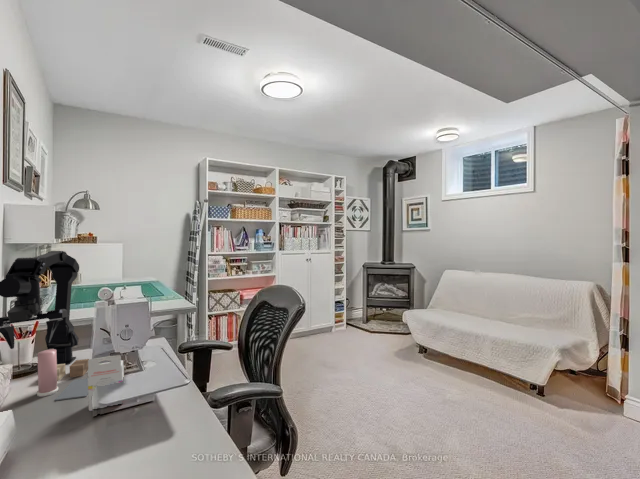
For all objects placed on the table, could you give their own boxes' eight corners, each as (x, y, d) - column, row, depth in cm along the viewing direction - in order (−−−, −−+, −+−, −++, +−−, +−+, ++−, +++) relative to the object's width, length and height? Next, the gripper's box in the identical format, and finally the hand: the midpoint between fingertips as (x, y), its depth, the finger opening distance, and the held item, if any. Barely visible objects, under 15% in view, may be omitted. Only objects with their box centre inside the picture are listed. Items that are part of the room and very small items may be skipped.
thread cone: (42, 390, 106) (41, 350, 106) (61, 387, 108) (60, 348, 108) (33, 397, 101) (32, 355, 101) (54, 395, 103) (53, 353, 103)
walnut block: (76, 370, 121) (76, 360, 121) (89, 369, 123) (89, 358, 123) (69, 377, 116) (69, 366, 116) (83, 376, 117) (82, 365, 117)
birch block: (48, 376, 117) (48, 365, 117) (65, 374, 118) (65, 363, 118) (41, 382, 112) (41, 371, 112) (59, 380, 114) (59, 369, 113)
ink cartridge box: (124, 397, 101) (124, 349, 101) (122, 404, 97) (122, 355, 97) (91, 403, 98) (90, 354, 98) (87, 411, 93) (86, 360, 93)
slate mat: (73, 381, 113) (73, 379, 113) (100, 377, 115) (100, 376, 115) (54, 401, 99) (54, 399, 99) (86, 396, 102) (86, 395, 102)
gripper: (-25, 301, 96) (-23, 356, 94) (54, 292, 103) (57, 343, 101) (-4, 300, 106) (-2, 350, 104) (66, 292, 113) (69, 338, 111)
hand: (30, 345), depth 105 cm, fingers open, 9 cm apart
